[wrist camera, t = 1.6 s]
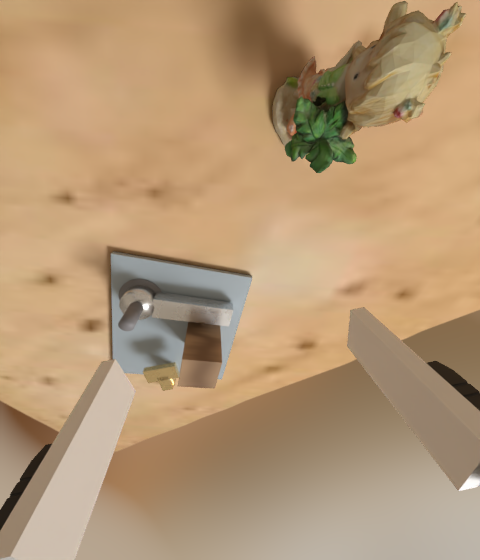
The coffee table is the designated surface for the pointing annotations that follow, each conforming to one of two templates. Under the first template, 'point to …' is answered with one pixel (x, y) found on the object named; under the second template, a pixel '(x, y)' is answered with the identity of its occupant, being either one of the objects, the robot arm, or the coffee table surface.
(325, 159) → the figurine
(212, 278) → the board
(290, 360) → the coffee table surface
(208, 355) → the block
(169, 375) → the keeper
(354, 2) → the coffee table surface
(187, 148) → the coffee table surface
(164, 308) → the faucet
